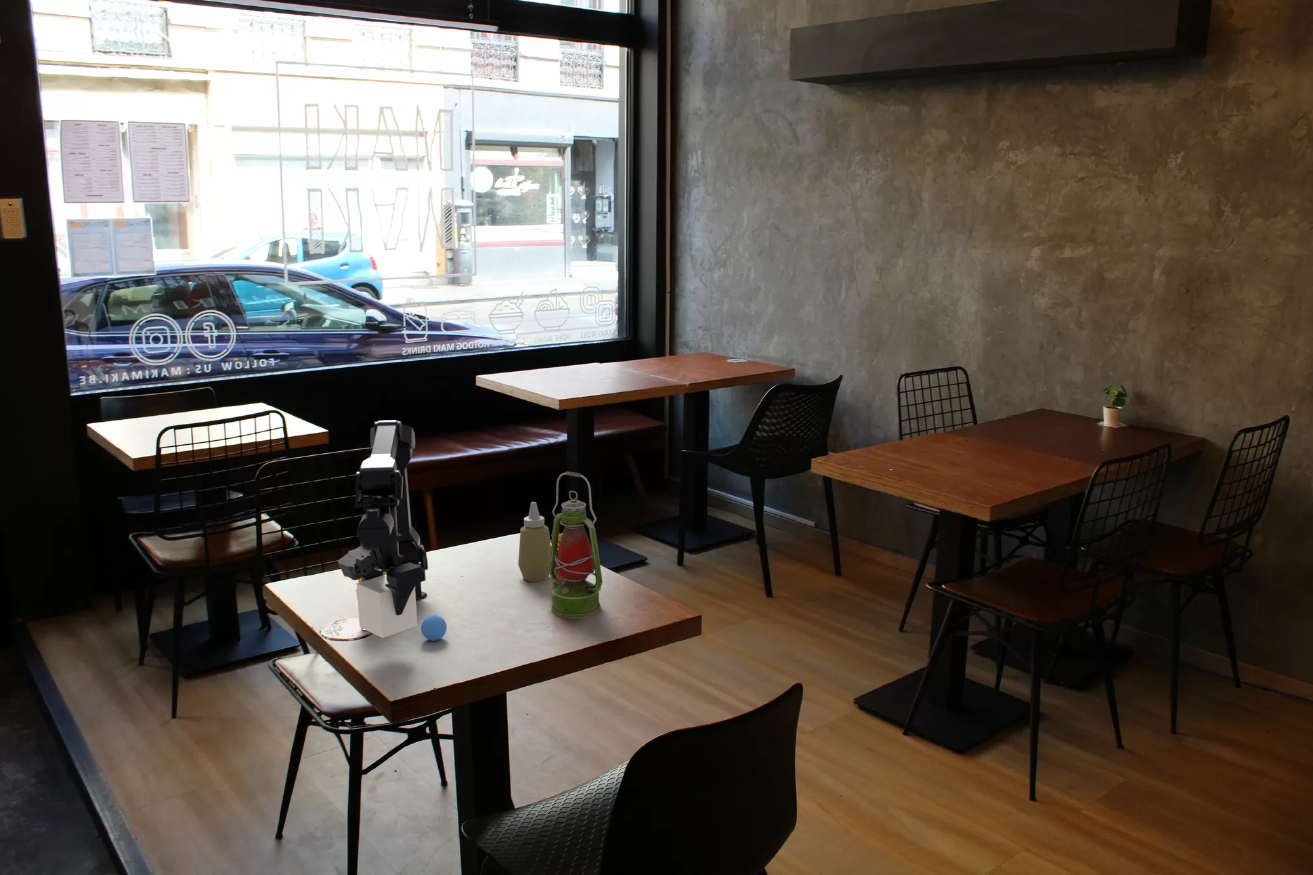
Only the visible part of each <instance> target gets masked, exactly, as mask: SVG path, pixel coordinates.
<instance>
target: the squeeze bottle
mask: <svg viewBox="0 0 1313 875" xmlns="http://www.w3.org/2000/svg"><path fill="white" fill-rule="evenodd" d="M529 506H530V507H529V512H528V516H525V517H524V518H523V525H524V526H522V527H521V528H520V530H519V531H520V533H519V547H518V561H517V562H518V564H517V565H518V568H519V571H520V573H521V576H522V578H523V579H524V580H525V581H528V582H540V581H541V582H542V581H545V580H547V579H548V578H549V577H550V573H549V564H550V555H551V551H550V550H551V545H552V543H551V536H550V530H549V527H548V526H547V525H545V517H544V516H542V515H540V512H539V508H538V505H537V502H535V501H531V502H530V505H529Z"/></svg>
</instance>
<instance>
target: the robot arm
mask: <svg viewBox="0 0 1313 875" xmlns="http://www.w3.org/2000/svg"><path fill="white" fill-rule="evenodd" d="M415 435H416V434H415V431H414V428H413V427H411V426H410V425H406V424H403V423H402V421H399V420H397V419H395V420H392V419H391V420H378V421H374V426H373V427H371V428H370V447H371V453H370V456H369V457H368V458H366V459H365V460H363V461H362V462H361V464H360V467H359V471H357V472H356V473H355V492H354V494H355V495H354V507H355V508H354V509H359V508H360V509H362V508H363V515H362V517H361V520H360V522H359V523H358V525H357V528H356V537H357V539H358V541H359V543H360V546H359V547H357V548H354V549H352V550H349V551H347V552H346V554H345V555H344V556H343V557H341V558H339V560H337V564H338V566H339V568H340V569H341V572H342V574H343V577H345V578H346V577H347V578H349V579H351V580H352V581H358V579H360V578H361V579H362V581H366V580H369V579H373V578H376V577H379V576H383V572H386V573H387V574H386V579H387V582H388V584H385V586H386V587H387V588H389V589H390V590H391V591H392V596H393V602H394V608H395V612H396V615H401V614H402V613H403V611H404V608H405V606H406V604H407V601H408V599H409V597H410V595H411V593H412V591H413V589H414V587H415V595H416V600H419V599H421V598H425V597H427V596H428V593H427V592H424V591H423V590H422V582H425V581H426V579H427V577H426V571H428V570H429V562H428V555H427V550H425V548H424V545H423V544H421V538H420V534H419V533H418V532H417V530H415V528H414V527H413V526H412V520H411V507H410V495H409V482H408V471H407V468H408V466H409V464H410V462H411V460H412V457H413V456H412V455H413V451H414V450H413V449H415V448H416V436H415Z"/></svg>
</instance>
